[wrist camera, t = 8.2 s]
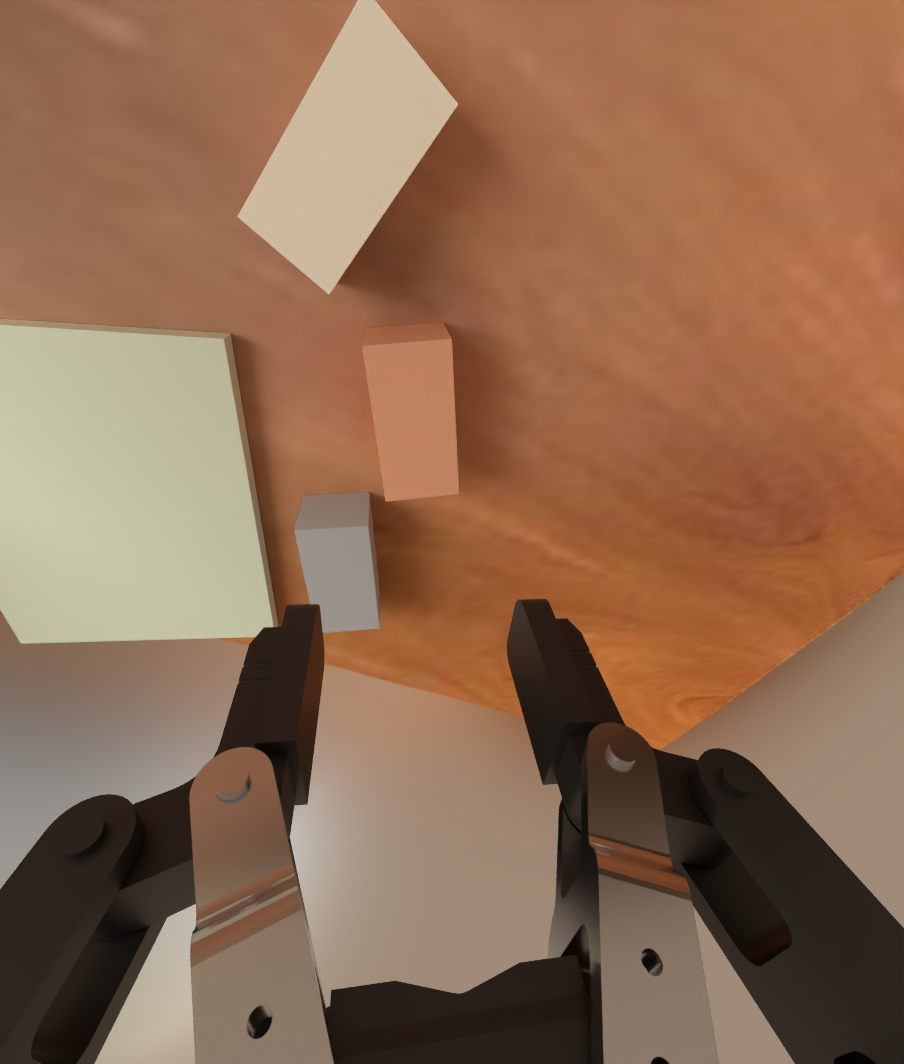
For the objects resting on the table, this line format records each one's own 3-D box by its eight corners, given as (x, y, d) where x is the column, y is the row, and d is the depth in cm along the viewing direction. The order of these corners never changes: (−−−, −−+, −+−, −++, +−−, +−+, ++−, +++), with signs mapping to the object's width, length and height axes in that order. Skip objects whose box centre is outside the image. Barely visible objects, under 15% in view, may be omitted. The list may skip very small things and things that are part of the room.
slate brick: (304, 494, 29) (293, 530, 26) (369, 490, 29) (368, 525, 26) (322, 592, 33) (316, 633, 30) (379, 587, 34) (379, 628, 30)
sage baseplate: (-154, 308, 21) (-181, 313, 20) (230, 333, 23) (223, 339, 22) (32, 630, 32) (21, 643, 31) (278, 624, 34) (275, 636, 33)
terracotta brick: (364, 327, 24) (361, 346, 21) (442, 321, 24) (451, 338, 21) (384, 468, 28) (385, 501, 25) (450, 461, 29) (458, 493, 25)
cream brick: (368, 28, 18) (365, -13, 15) (445, 121, 20) (458, 104, 16) (259, 215, 21) (237, 216, 18) (336, 282, 23) (329, 294, 19)
